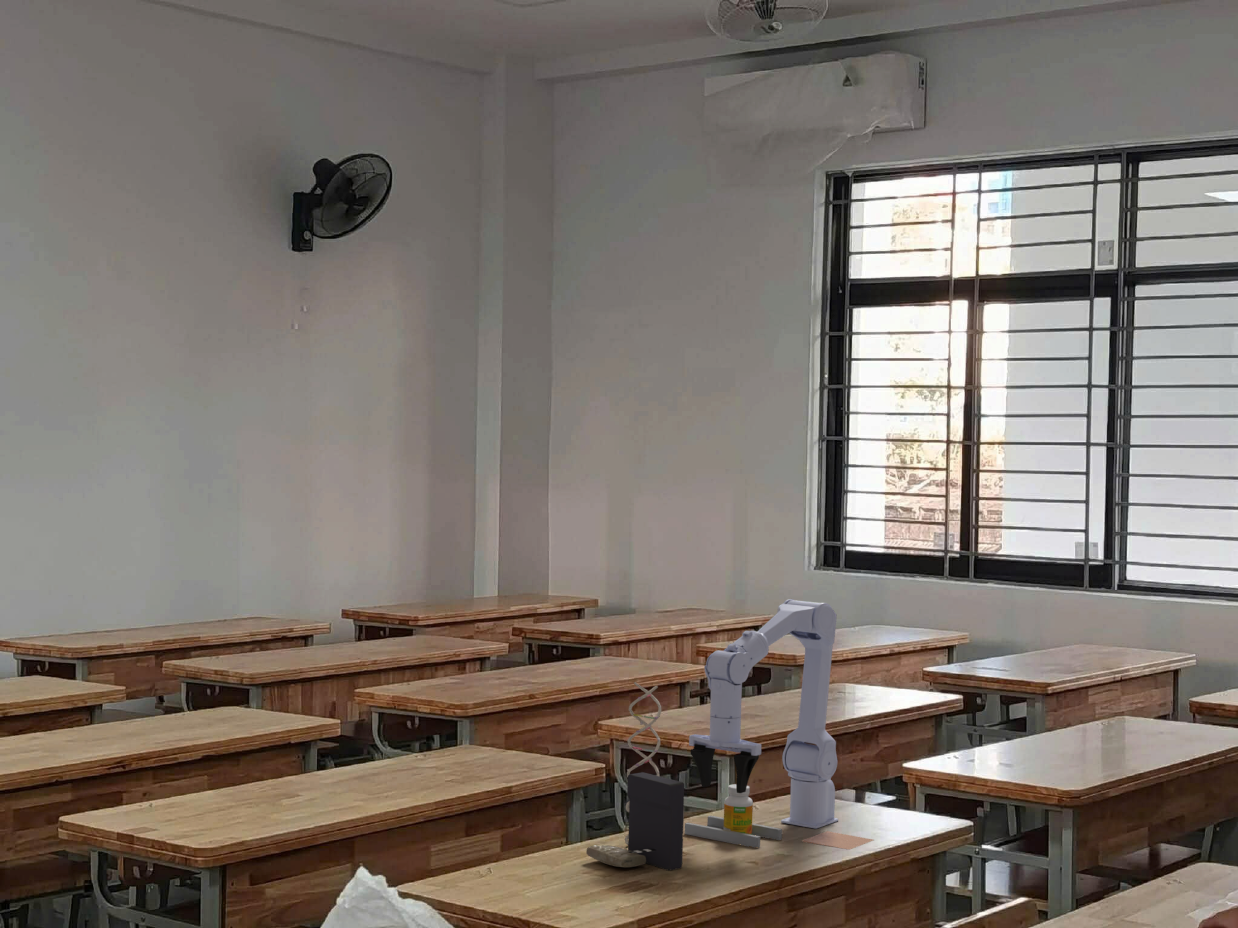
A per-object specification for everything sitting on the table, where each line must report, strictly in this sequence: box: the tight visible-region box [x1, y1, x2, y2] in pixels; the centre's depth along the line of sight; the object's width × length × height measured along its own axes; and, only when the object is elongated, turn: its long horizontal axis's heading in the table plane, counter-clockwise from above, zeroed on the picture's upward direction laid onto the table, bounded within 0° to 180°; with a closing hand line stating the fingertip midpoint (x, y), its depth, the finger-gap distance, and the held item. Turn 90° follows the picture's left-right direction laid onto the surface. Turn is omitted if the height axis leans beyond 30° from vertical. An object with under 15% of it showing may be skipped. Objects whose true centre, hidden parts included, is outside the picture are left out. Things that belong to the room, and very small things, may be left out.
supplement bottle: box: [723, 783, 754, 835], centre depth 293 cm, size 5×5×10 cm
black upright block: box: [626, 771, 685, 872], centre depth 273 cm, size 11×4×15 cm, turn 42°
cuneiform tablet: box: [586, 844, 656, 868], centre depth 270 cm, size 6×4×12 cm
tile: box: [801, 830, 874, 851], centre depth 292 cm, size 10×10×1 cm
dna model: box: [624, 681, 662, 846], centre depth 283 cm, size 7×6×30 cm
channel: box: [684, 815, 783, 848], centre depth 294 cm, size 9×16×2 cm, turn 54°
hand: (723, 789), depth 288 cm, fingers open, 7 cm apart
